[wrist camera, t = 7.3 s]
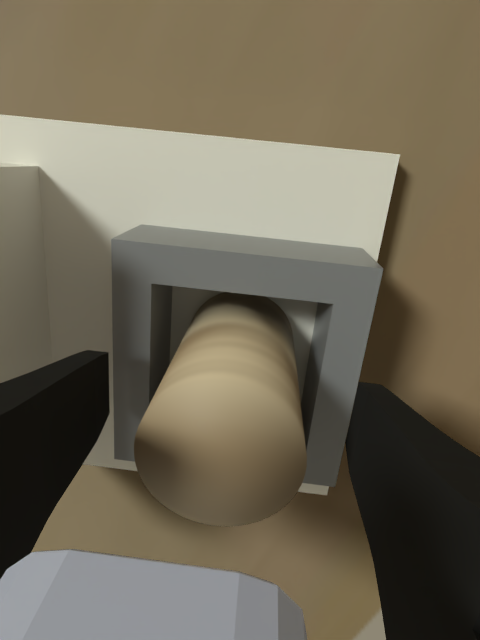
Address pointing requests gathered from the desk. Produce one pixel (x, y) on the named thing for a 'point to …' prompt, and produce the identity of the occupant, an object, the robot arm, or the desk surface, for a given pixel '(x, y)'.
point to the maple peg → (227, 417)
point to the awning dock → (187, 260)
